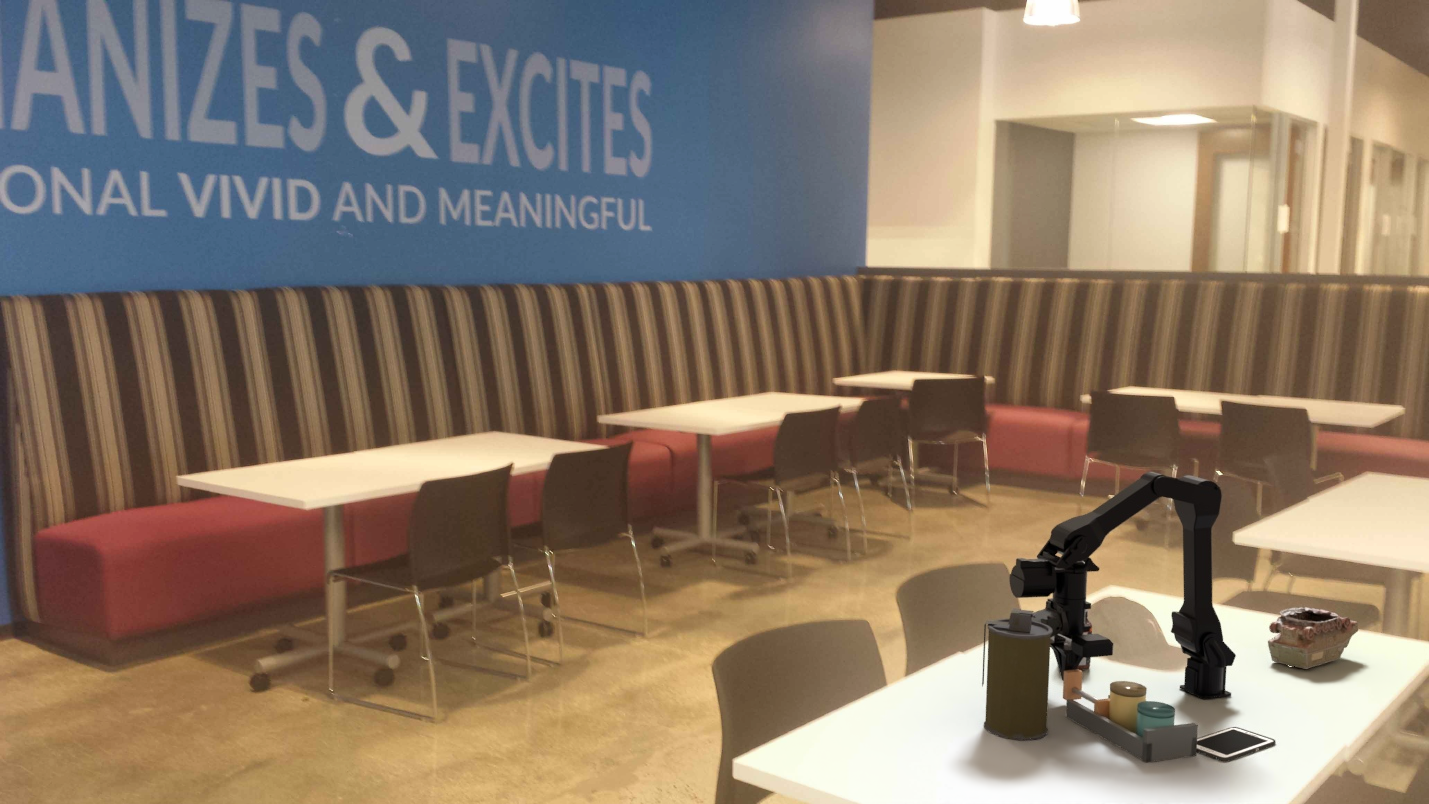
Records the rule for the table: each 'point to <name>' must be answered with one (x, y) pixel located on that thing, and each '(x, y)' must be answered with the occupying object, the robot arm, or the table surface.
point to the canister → (1017, 676)
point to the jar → (1153, 715)
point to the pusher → (1082, 692)
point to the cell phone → (1232, 744)
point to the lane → (1150, 747)
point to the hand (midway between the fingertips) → (1065, 681)
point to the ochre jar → (1125, 703)
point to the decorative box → (1309, 637)
